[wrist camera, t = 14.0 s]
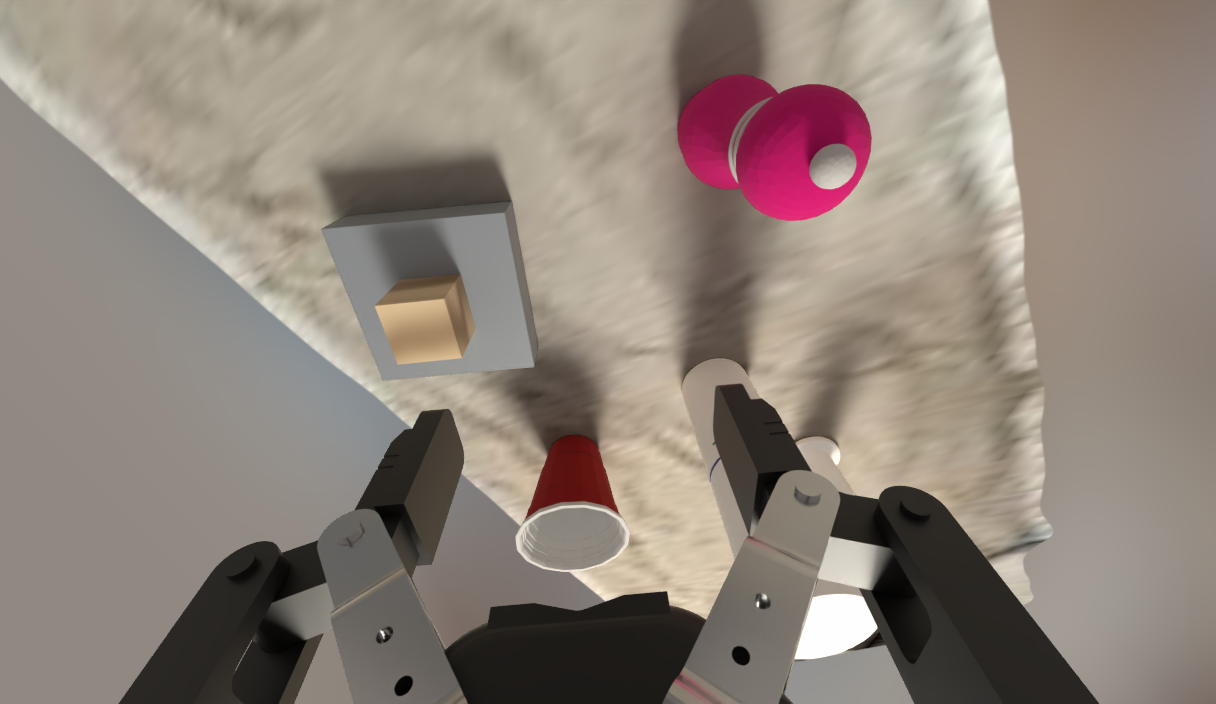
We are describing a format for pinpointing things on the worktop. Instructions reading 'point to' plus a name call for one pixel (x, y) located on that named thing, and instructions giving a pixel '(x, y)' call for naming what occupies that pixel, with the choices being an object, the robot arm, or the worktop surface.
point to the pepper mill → (776, 144)
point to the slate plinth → (440, 246)
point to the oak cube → (427, 319)
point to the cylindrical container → (834, 606)
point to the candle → (824, 461)
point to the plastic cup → (572, 511)
